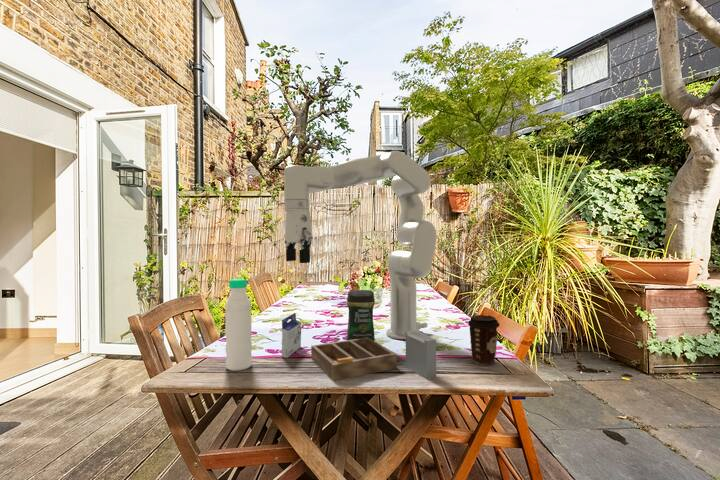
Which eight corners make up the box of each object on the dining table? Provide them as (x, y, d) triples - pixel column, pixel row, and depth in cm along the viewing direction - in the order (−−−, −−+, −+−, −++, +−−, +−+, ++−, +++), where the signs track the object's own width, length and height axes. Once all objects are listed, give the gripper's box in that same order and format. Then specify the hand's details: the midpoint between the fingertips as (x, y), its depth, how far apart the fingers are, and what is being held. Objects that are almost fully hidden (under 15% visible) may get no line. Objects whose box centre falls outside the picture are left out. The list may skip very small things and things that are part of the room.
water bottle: (237, 373, 98) (236, 281, 98) (220, 368, 102) (219, 279, 101) (257, 365, 104) (256, 278, 104) (240, 360, 108) (239, 277, 107)
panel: (414, 364, 104) (414, 330, 104) (436, 377, 95) (436, 339, 95) (405, 366, 102) (405, 331, 102) (426, 379, 93) (426, 341, 93)
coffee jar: (347, 348, 119) (346, 292, 118) (346, 341, 127) (345, 288, 126) (376, 347, 119) (376, 291, 119) (373, 340, 127) (373, 288, 127)
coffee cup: (499, 358, 108) (499, 315, 108) (500, 368, 101) (500, 321, 100) (468, 355, 111) (468, 313, 111) (467, 364, 103) (467, 319, 103)
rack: (367, 349, 117) (367, 334, 117) (396, 368, 101) (396, 350, 101) (311, 358, 109) (311, 342, 109) (333, 380, 93) (333, 361, 93)
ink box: (288, 358, 110) (288, 320, 110) (281, 357, 110) (280, 320, 110) (302, 346, 121) (301, 312, 121) (295, 346, 122) (295, 312, 121)
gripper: (321, 205, 106) (322, 263, 107) (296, 208, 121) (296, 259, 121) (298, 204, 102) (298, 264, 103) (274, 207, 116) (275, 260, 117)
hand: (297, 261), depth 112 cm, fingers open, 9 cm apart
